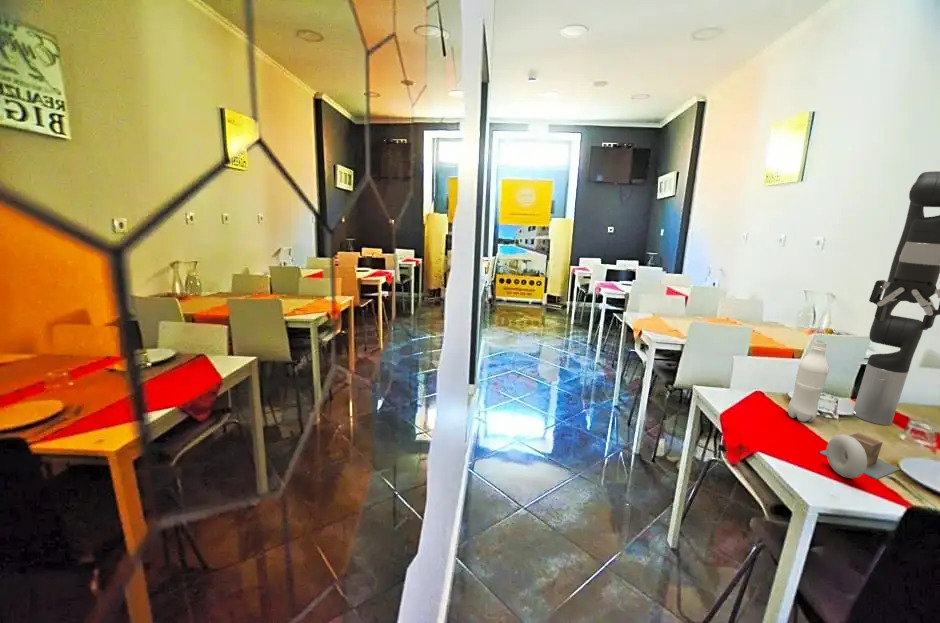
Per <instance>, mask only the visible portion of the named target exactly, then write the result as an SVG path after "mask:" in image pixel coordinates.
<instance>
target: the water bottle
mask: <svg viewBox="0 0 940 623" xmlns="http://www.w3.org/2000/svg"><path fill="white" fill-rule="evenodd" d="M827 344H828V342H826V341H823V340H818V339H817V340H815V339H814V340H813V344H812V345H811V347H810V348H811V350H810V351H809V353H808V354H806V355H805V357H803V358H802V359H801V360H800V362H799V364H798V369H797V371H796V372H797V373H796V377H795V380H794V389H793V394H792V395H791V399H790V401H789V402H788V406H787V413H788V416H789V417H790V418H792V419H794V418H797V421H800V422H802V423H803V422H809V423H810V422H811V423H812V422H813V421H814V420H815V419H816V417H817V416H818V411H819V401H820V397H821V394H822V392H823V390H824V388H825V385H826V381H827V377H828V374H829V372H830V367H829V364H828V361H827V358H826V351H827Z"/></svg>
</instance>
